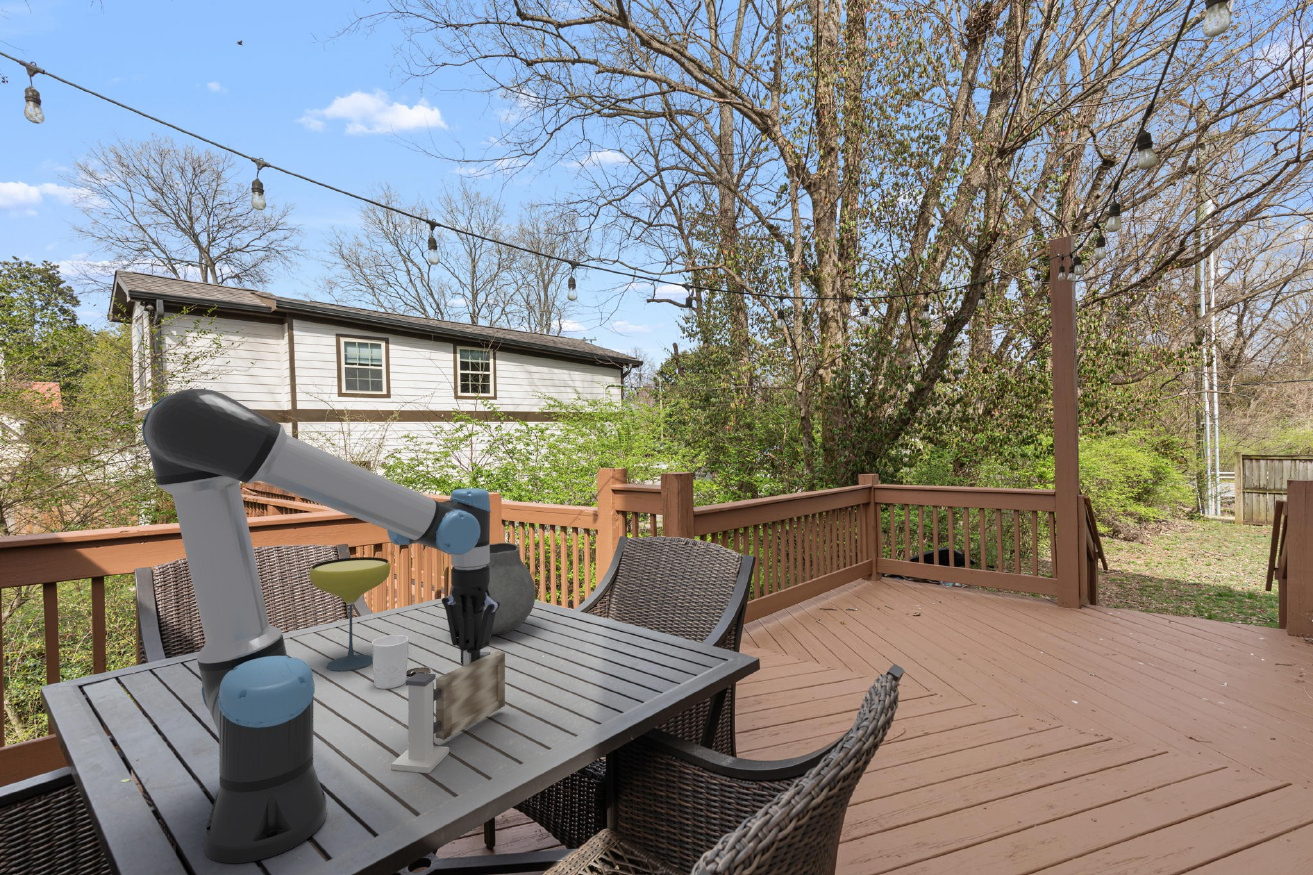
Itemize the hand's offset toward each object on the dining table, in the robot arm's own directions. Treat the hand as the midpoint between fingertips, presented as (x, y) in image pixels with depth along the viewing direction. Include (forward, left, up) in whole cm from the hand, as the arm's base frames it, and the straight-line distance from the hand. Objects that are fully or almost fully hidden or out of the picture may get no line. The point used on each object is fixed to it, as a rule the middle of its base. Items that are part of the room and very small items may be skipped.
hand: (470, 681), depth 127 cm
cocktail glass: (+24, +43, -8) cm, 50 cm away
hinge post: (-17, +1, -8) cm, 19 cm away
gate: (-5, -2, -6) cm, 8 cm away
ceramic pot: (+53, +18, -8) cm, 56 cm away
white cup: (+14, +26, -8) cm, 31 cm away
